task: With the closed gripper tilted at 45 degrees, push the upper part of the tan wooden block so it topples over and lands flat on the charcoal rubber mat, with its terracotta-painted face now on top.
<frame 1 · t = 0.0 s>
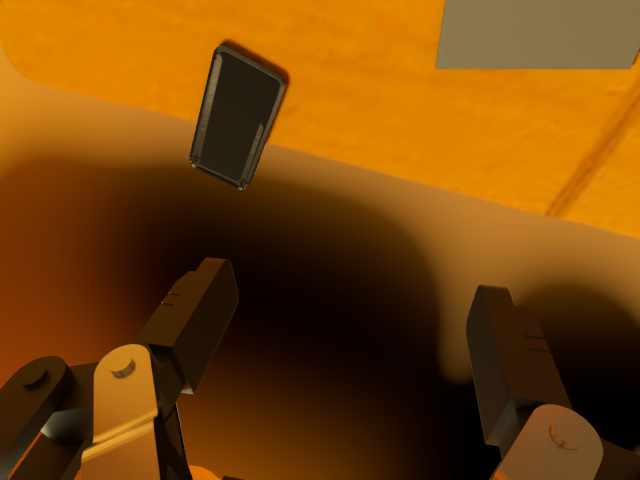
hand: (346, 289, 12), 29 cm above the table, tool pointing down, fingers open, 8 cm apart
phone: (237, 123, 41), on the table
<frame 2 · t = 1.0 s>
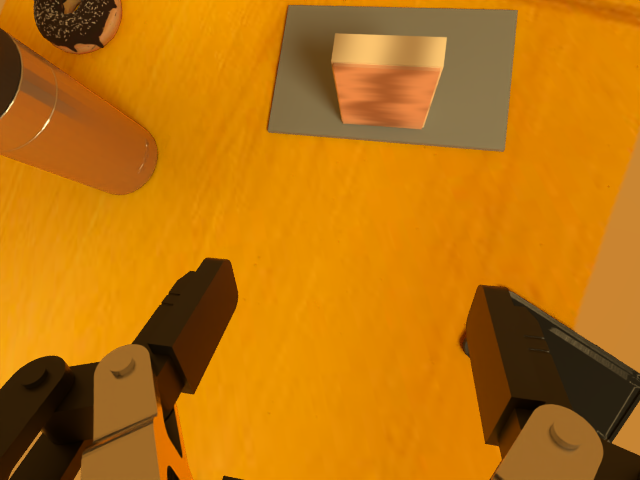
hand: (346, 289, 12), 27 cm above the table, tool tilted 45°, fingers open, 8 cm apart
donut: (90, 19, 48), on the table
tan wooden block: (383, 114, 40), resting on mat
phone: (546, 362, 35), on the table
mat: (388, 74, 41), on the table
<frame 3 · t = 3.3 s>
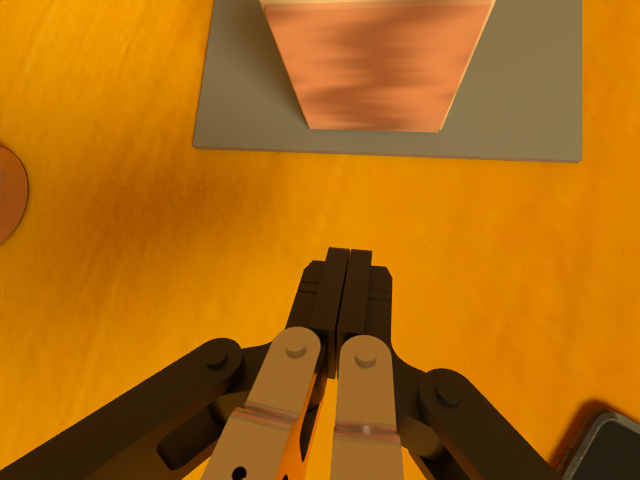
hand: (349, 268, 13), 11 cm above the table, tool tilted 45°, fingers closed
tan wooden block: (374, 110, 24), resting on mat
mat: (379, 49, 26), on the table
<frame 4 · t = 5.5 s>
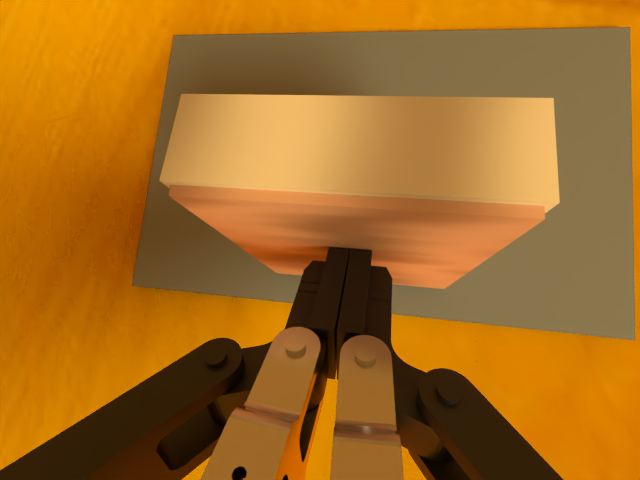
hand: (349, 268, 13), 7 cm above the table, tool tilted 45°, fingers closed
tan wooden block: (359, 252, 19), point 1 cm above the table, tilted 7°, touching gripper, mat
mat: (367, 166, 20), on the table
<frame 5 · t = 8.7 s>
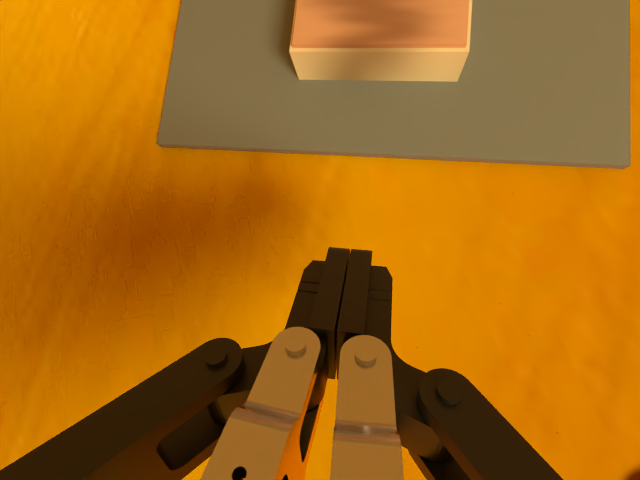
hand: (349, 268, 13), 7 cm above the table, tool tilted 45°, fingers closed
tan wooden block: (375, 67, 19), point 2 cm above the table, tilted 90°, touching mat
mat: (380, 29, 21), on the table
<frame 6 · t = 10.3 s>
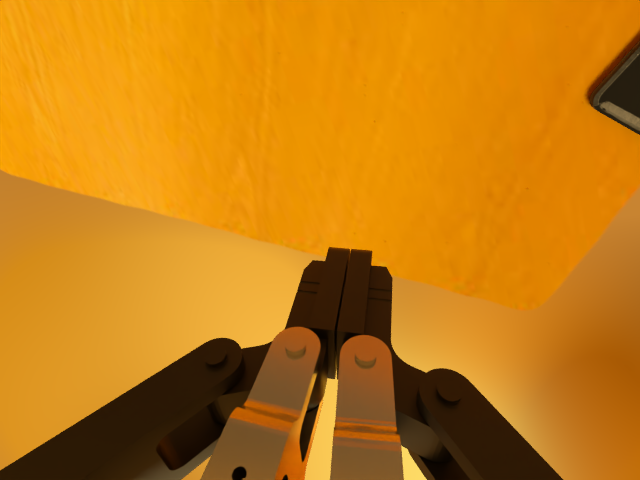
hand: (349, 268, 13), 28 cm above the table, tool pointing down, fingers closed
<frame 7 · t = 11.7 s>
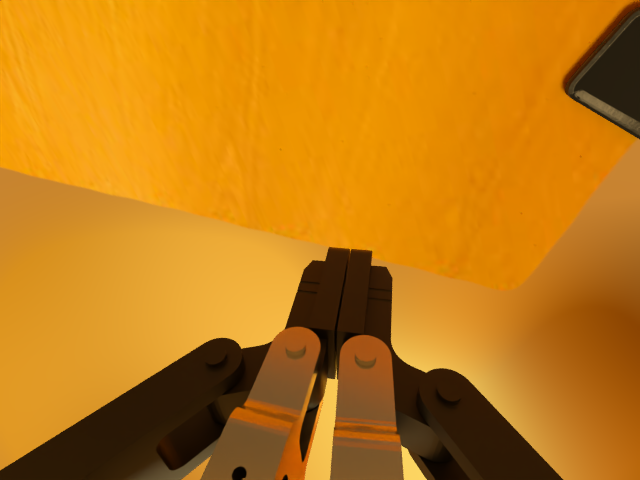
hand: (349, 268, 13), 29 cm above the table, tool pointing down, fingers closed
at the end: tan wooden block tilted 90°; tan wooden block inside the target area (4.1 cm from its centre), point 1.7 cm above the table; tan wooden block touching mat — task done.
